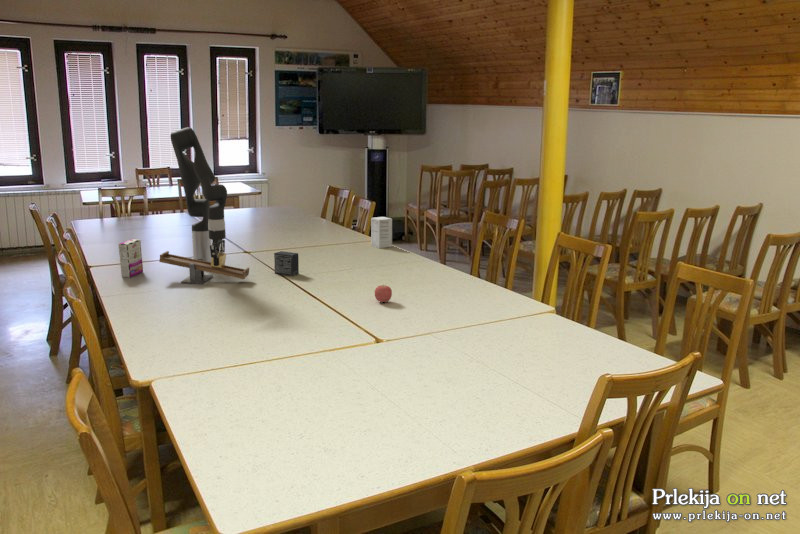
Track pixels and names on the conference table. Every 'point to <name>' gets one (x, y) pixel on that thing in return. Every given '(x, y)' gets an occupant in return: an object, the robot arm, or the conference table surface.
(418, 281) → the conference table surface
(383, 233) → the supplement box
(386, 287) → the apple
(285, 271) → the small box
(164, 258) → the beam
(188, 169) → the robot arm
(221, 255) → the wooden block
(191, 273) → the pivot stand
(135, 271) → the candy bar box
